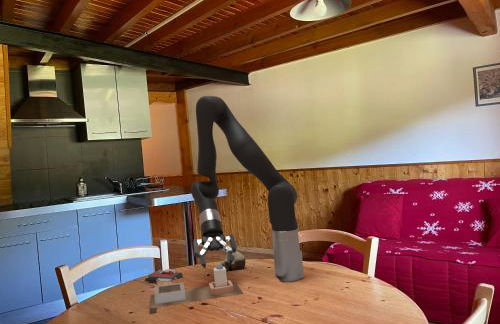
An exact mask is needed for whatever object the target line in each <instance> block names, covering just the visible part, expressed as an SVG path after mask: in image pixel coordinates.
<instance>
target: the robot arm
mask: <svg viewBox="0 0 500 324" xmlns="http://www.w3.org/2000/svg"><path fill="white" fill-rule="evenodd" d="M195 118H196V119H195V120H196V127H197V128H196V129H197V130H196V131H197V142H198V143H197V145H198V151H197V152H198V154H197V168H196V170H197V171H196V172H197V174H198V176H201V177H207V178H208V179H209V181H208V180H206V181H204V180H203V181H202V180H201V181H199V180H197V181H194V182H193V183H192V185H191V187H190V192H191V196H192V198H193V200H194V202H195V204H196V206H197V209H198V214H199V227H200V231H201V232H200V233H201V239H197V238H194V239H193V257H194V258H199V259H200V265H201V267H202V268H203V269H204V268H205V269H206V266H207V264H206V255H207V254H208V252H209V251H210V252H213V251H222V252H225V253H226V255H227V256H228V261H229V265H230V264H232V263H233V255H232V253H235V252H236V251H237V248H238V247H237V244H236V243H237V242H236V241H235V237H234V234H229V235H228V236H225V234H224V230H223V224H222V220H221V216H220V212H219V209H218V208H219V206H218V203H217V201H216V199H217V198H218V196H219V194H220V189H219V184H218V180H217V174H216V173H217V172H216V171H217V149H216V145H215V141H214V133H213V129H214V123H215V124H216V125H217V127H218V128H220V130H221V131H222V132H223V134H224V135H225V138H226V141H227V144H228V147H229V149H230V152H231V153H232V154H233V156H234V158H236V160H237V161H238V163H240V164H241V166H242V167H243V168H244V169H245V170H246V171H248V172H249V173H250V174H251V175H252V176H253V177H255V178H256V179H258V180H259V181H260V182H261V183H262V184H263V185H264V187H265V188H266V190H267V192H268V194H267V207H268V219H269V223H270V227H271V235H272V249H273V250H272V251H273V262H274V263H273V264H274V265H273V266H274V275H275V278H276V279H278V281H280V282H287V283H288V282H296V281H299V280H301V279H304V278H305V277H304V276H305V275H304V265H303V264H304V263H303V251H302V250H301V249H300V237H299V226H298V224H299V223H298V220H297V218H296V212H295V211H296V209H295V204H296V203H297V200H298V193H297V190H296V189H295V187H294V186H293V184H291V183H290V182H289V181H288V180H287V179H286V178H285V177H284V176H283V175H282V174H281V173H280V172H279V171H278V170H277V168H276V167H275V166H274V164H273V163H272V161H270V159H269V158H268V156H267V155H266V154H265V152H264V151H263V149H262V148H261V146H260V145H259V144H258V143H257V142H256V141H255V140H254V138H253V137H252V136H251V135H250V134H249V132H248V131H247V130H246V129H245V128H244V127H243V126H242V125H241V123H240V122H239V121H238V119H237V118H236V117H235V115H234V114H233V112H232V111H231V109H230V107H229V106H228V104H227V103H226V102H225V100H223V98H221V97H219V96H213V95H212V96H211V95H204V96H201V97H200V98H198V99H197V102H196V104H195ZM226 241H227V242H228V244H230V246H229V245H228V244H227V242H226ZM200 245H203V246H202V249H201V251H199V247H200Z"/></svg>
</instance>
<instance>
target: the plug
mask: <svg viewBox="0 0 500 324" xmlns="http://www.w3.org/2000/svg"><path fill="white" fill-rule="evenodd" d="M213 280H214V281H213V282H215V288H216V287H223V286H227V280H228V278H227V272H226V269H225V267H223V265H221V264H217V265H216V267H213Z"/></svg>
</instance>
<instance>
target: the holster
mask: <svg viewBox="0 0 500 324" xmlns="http://www.w3.org/2000/svg"><path fill="white" fill-rule="evenodd" d="M232 283H233V282H232V281H231V279H229V280H228V279H227V286H223V287H216V288H215V282H214V281H211V282H209V283H208V286H209V290H210V292H211V295H220V294H227V293H231V292H234V288H233V284H232Z"/></svg>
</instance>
